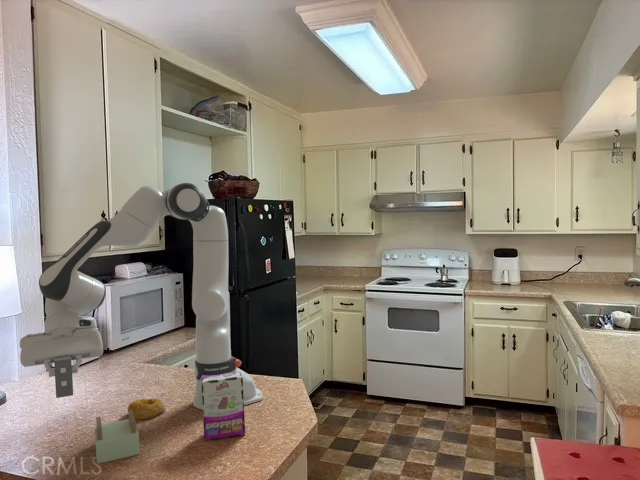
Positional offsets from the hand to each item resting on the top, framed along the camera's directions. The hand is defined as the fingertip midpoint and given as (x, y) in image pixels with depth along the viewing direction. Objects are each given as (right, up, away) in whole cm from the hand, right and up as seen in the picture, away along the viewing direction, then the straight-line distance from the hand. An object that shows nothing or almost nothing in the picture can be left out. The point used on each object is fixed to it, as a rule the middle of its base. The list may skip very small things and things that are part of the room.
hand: (63, 373), depth 130 cm
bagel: (+15, -18, +20) cm, 31 cm away
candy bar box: (+42, -18, +4) cm, 46 cm away
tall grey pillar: (0, -6, +1) cm, 6 cm away
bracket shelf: (+16, -19, -3) cm, 25 cm away
